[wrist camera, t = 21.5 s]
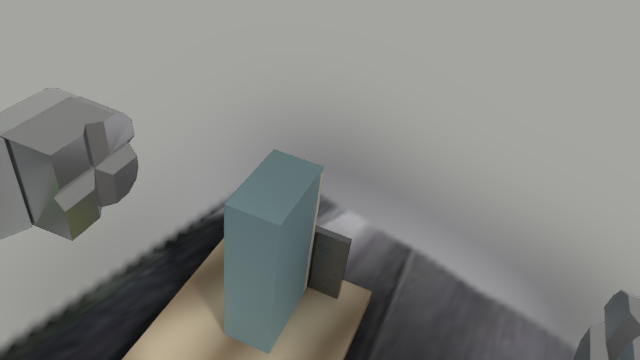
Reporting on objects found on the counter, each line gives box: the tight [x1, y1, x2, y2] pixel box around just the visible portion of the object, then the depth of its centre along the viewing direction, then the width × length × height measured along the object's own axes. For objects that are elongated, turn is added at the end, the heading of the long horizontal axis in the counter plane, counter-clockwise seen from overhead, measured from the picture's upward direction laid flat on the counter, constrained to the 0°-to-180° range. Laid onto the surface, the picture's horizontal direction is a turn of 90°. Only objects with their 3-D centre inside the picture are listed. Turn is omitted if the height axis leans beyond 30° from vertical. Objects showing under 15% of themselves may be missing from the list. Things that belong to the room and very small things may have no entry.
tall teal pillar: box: [224, 150, 324, 354], centre depth 39 cm, size 4×7×14 cm, turn 157°
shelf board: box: [122, 238, 372, 360], centre depth 41 cm, size 15×20×2 cm
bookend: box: [307, 226, 352, 299], centre depth 45 cm, size 10×2×7 cm, turn 67°
